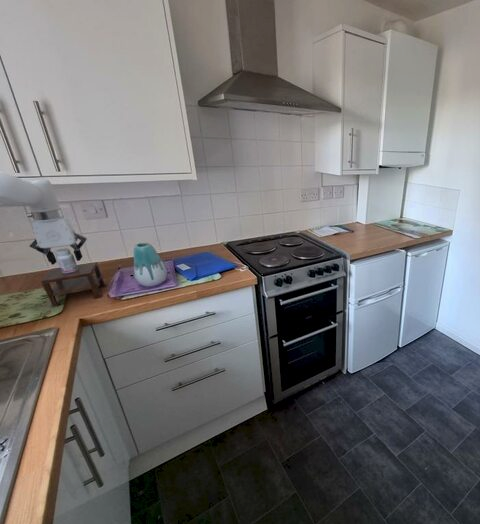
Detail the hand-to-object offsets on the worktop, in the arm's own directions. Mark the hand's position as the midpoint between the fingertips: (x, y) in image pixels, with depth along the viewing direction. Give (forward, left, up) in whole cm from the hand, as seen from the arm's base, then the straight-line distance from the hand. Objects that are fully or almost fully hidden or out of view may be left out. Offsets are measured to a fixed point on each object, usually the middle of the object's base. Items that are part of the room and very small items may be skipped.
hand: (66, 261), depth 113 cm
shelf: (0, 0, -15) cm, 15 cm away
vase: (+25, -2, -15) cm, 29 cm away
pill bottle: (0, 0, -4) cm, 4 cm away
